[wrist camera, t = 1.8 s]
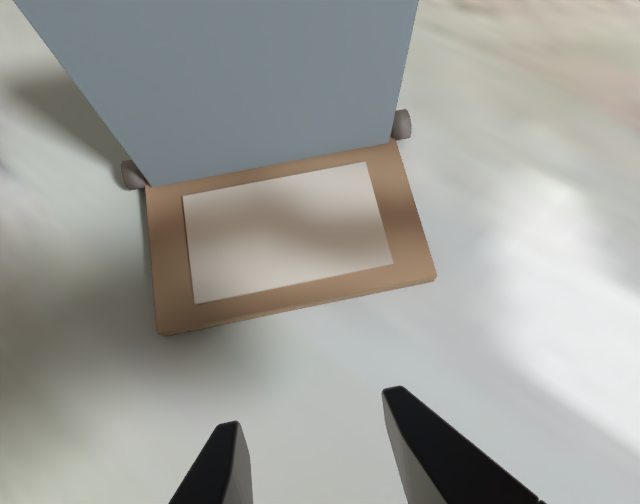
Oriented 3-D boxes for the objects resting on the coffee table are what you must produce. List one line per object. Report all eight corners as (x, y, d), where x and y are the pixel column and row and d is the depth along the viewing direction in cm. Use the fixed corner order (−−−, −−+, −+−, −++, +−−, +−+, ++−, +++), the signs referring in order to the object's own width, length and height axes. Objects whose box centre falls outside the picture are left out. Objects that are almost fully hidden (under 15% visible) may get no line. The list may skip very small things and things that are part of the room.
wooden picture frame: (449, 277, 24) (458, 267, 23) (146, 340, 23) (131, 333, 22) (400, 122, 28) (405, 103, 26) (133, 172, 27) (120, 155, 25)
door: (388, 142, 26) (434, -78, 14) (152, 187, 25) (7, -7, 14) (379, 110, 26) (415, -124, 15) (149, 152, 26) (8, -59, 14)
